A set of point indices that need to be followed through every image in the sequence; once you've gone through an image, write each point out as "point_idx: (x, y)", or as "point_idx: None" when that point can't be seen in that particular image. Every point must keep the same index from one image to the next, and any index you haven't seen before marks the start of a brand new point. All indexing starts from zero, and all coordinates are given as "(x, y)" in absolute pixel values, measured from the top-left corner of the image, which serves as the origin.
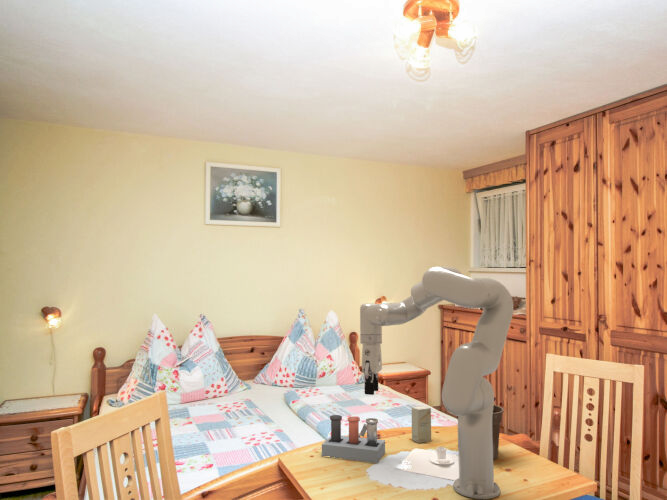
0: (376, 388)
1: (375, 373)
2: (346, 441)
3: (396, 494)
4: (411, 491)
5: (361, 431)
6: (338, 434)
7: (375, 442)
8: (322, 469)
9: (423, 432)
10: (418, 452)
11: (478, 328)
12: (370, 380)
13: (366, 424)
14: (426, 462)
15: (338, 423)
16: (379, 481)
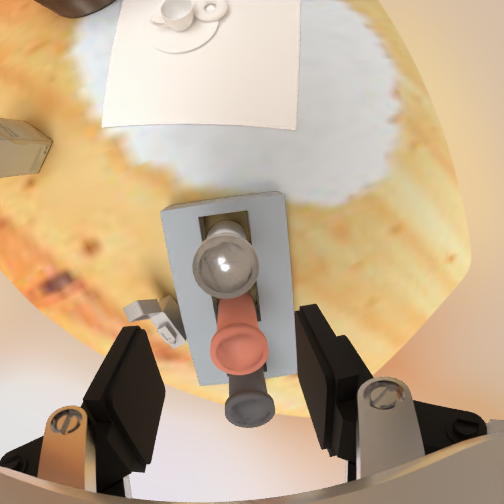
0: (139, 348)
1: (492, 435)
2: None
3: (430, 98)
4: (405, 67)
5: (145, 317)
6: None
7: (234, 223)
8: (371, 309)
9: (24, 131)
10: (133, 103)
11: None
12: (416, 409)
13: (128, 312)
14: (207, 56)
15: (259, 385)
16: (391, 147)
